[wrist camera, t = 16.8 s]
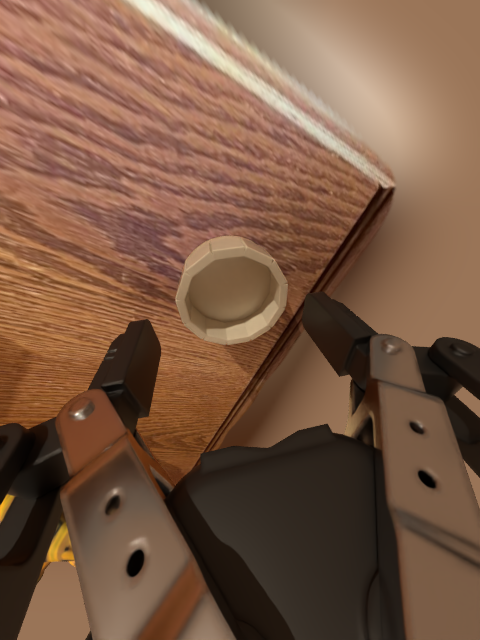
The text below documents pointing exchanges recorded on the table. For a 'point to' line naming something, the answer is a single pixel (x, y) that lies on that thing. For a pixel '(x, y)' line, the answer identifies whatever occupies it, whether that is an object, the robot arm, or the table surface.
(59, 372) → the table surface
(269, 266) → the cream dish
